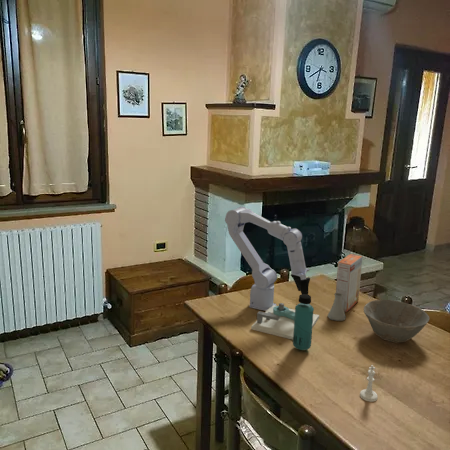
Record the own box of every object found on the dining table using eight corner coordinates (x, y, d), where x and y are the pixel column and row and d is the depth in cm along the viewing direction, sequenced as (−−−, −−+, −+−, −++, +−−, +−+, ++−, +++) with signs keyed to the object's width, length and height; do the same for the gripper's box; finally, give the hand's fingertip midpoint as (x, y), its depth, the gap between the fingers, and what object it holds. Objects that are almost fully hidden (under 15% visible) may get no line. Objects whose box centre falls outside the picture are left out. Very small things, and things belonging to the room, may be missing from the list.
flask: (344, 314, 181) (346, 291, 178) (347, 322, 174) (349, 298, 171) (326, 312, 181) (328, 290, 179) (328, 320, 174) (330, 297, 172)
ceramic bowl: (426, 330, 169) (429, 306, 166) (424, 359, 148) (428, 332, 146) (365, 318, 177) (368, 295, 175) (356, 344, 157) (359, 318, 155)
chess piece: (357, 391, 130) (360, 361, 128) (373, 390, 131) (377, 360, 128) (363, 402, 126) (367, 370, 123) (380, 401, 126) (384, 370, 123)
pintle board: (251, 329, 166) (251, 316, 165) (272, 307, 185) (272, 295, 184) (302, 342, 157) (303, 328, 156) (319, 317, 177) (320, 305, 175)
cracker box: (345, 297, 196) (349, 253, 191) (358, 301, 193) (363, 255, 188) (333, 308, 185) (337, 261, 180) (347, 312, 182) (351, 264, 177)
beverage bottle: (312, 346, 155) (316, 293, 150) (309, 356, 149) (313, 300, 144) (293, 343, 157) (297, 290, 152) (290, 352, 151) (293, 297, 146)
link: (270, 312, 177) (270, 308, 177) (279, 308, 181) (279, 304, 181) (305, 327, 165) (306, 323, 165) (314, 322, 170) (315, 318, 169)
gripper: (311, 261, 167) (317, 295, 168) (302, 254, 181) (308, 286, 183) (292, 265, 166) (299, 299, 168) (286, 258, 181) (292, 289, 182)
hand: (303, 293), depth 175 cm, fingers open, 7 cm apart
